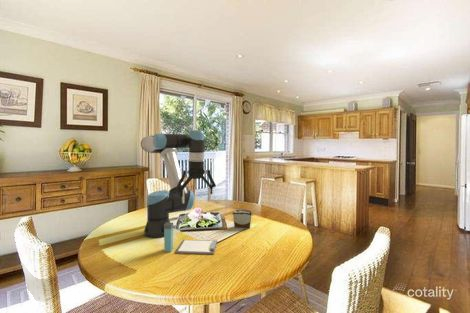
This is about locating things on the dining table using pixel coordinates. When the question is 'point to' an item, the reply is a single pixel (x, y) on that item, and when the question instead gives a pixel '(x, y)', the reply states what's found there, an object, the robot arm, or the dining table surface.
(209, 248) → the clipboard
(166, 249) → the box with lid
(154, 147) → the robot arm
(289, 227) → the dining table surface
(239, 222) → the food container
